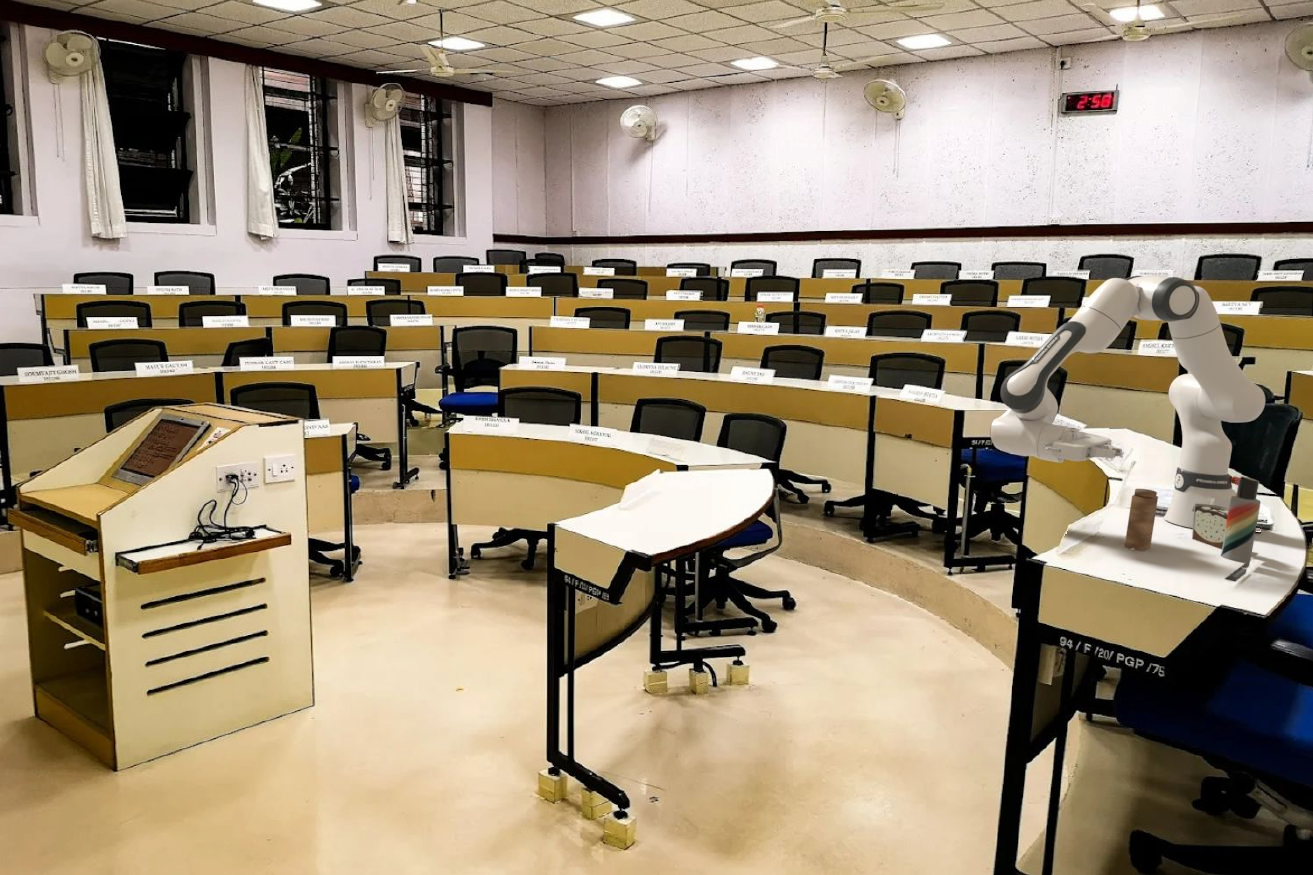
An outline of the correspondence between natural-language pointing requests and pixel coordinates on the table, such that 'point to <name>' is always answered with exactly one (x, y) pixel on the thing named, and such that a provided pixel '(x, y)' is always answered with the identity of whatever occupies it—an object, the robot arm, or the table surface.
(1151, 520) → the brown post
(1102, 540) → the table surface
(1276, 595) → the table surface
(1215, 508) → the food container
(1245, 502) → the lotion bottle
